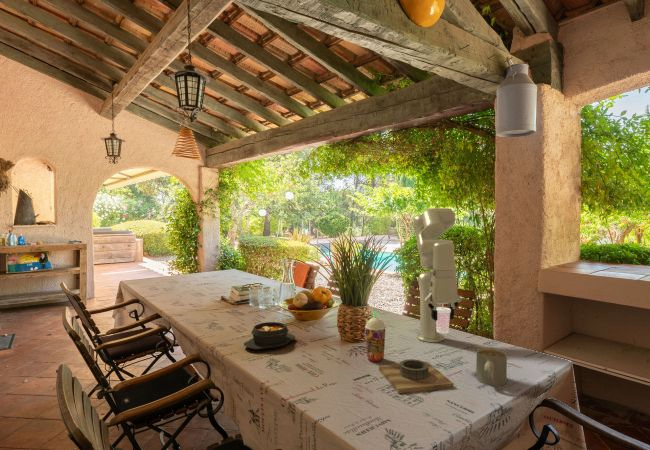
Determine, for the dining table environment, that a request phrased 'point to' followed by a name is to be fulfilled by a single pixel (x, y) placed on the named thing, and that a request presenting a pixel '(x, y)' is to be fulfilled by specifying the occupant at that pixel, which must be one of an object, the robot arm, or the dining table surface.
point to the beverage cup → (443, 319)
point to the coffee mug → (491, 366)
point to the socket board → (414, 384)
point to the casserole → (269, 336)
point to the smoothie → (375, 339)
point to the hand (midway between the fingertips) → (442, 318)
